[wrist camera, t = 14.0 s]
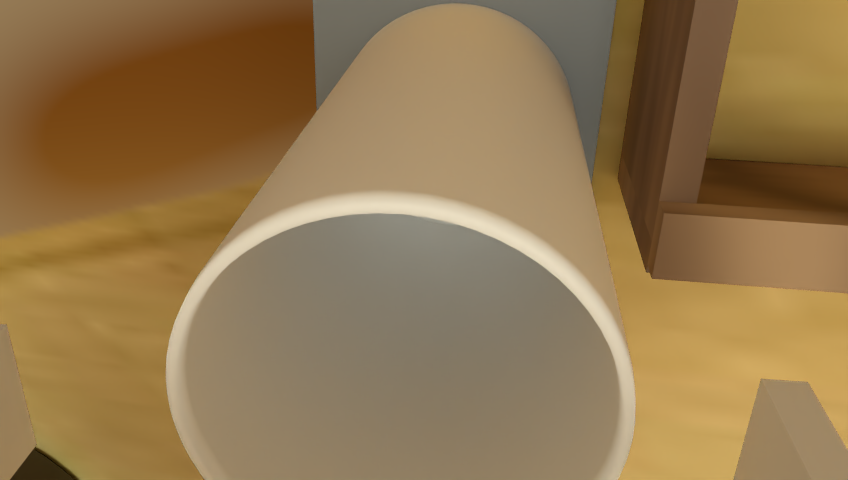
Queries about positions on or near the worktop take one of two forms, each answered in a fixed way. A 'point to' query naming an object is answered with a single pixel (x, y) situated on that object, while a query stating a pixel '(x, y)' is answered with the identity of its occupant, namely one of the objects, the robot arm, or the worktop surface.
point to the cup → (415, 281)
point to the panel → (527, 3)
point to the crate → (718, 172)
